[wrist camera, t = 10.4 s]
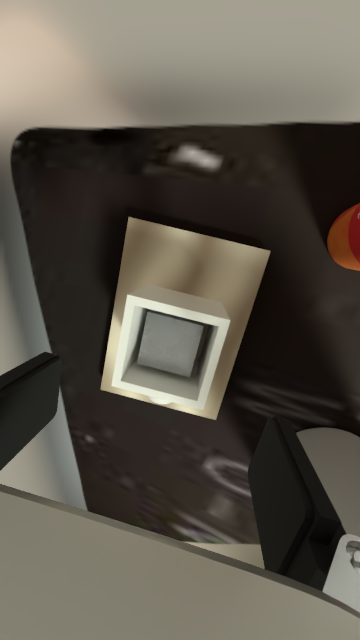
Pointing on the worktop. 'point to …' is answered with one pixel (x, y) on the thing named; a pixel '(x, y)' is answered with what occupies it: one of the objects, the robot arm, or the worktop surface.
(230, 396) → the worktop surface
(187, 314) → the duct collar
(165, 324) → the block
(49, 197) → the worktop surface
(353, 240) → the paper cup
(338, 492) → the cylinder vase
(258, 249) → the board
